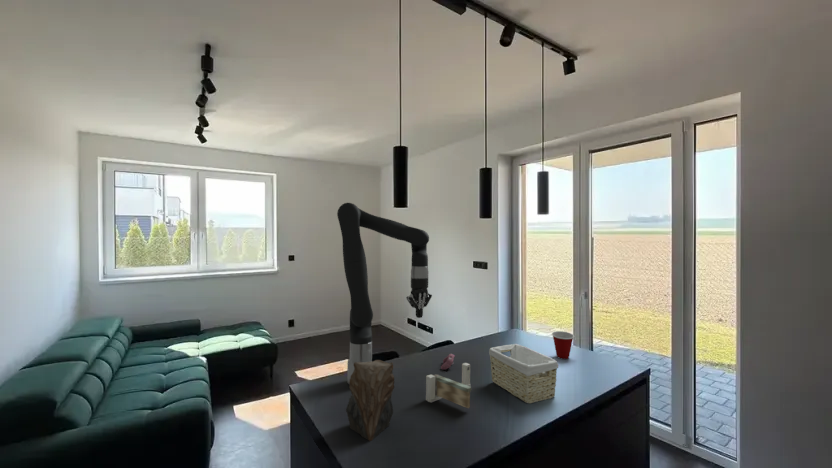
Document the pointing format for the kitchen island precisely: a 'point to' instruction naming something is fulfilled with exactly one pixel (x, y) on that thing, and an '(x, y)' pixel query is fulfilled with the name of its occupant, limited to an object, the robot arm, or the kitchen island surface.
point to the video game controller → (448, 361)
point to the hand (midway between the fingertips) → (419, 317)
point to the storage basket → (524, 372)
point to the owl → (370, 398)
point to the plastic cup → (562, 343)
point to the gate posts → (431, 383)
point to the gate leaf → (452, 391)
